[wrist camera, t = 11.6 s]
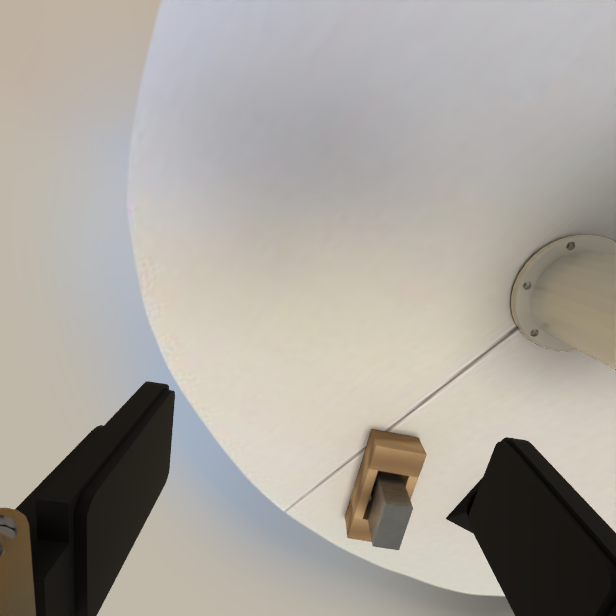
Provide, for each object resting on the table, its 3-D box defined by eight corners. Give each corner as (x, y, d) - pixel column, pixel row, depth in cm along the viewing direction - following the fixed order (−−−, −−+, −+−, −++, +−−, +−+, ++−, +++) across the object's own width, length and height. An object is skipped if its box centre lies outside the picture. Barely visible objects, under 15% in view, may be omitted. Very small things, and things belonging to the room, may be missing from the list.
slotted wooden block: (371, 429, 42) (376, 445, 39) (418, 437, 42) (426, 454, 39) (345, 517, 46) (347, 537, 43) (388, 524, 46) (393, 545, 43)
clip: (374, 458, 43) (385, 504, 36) (397, 461, 43) (412, 508, 37) (363, 495, 45) (372, 546, 38) (385, 499, 45) (398, 550, 38)
